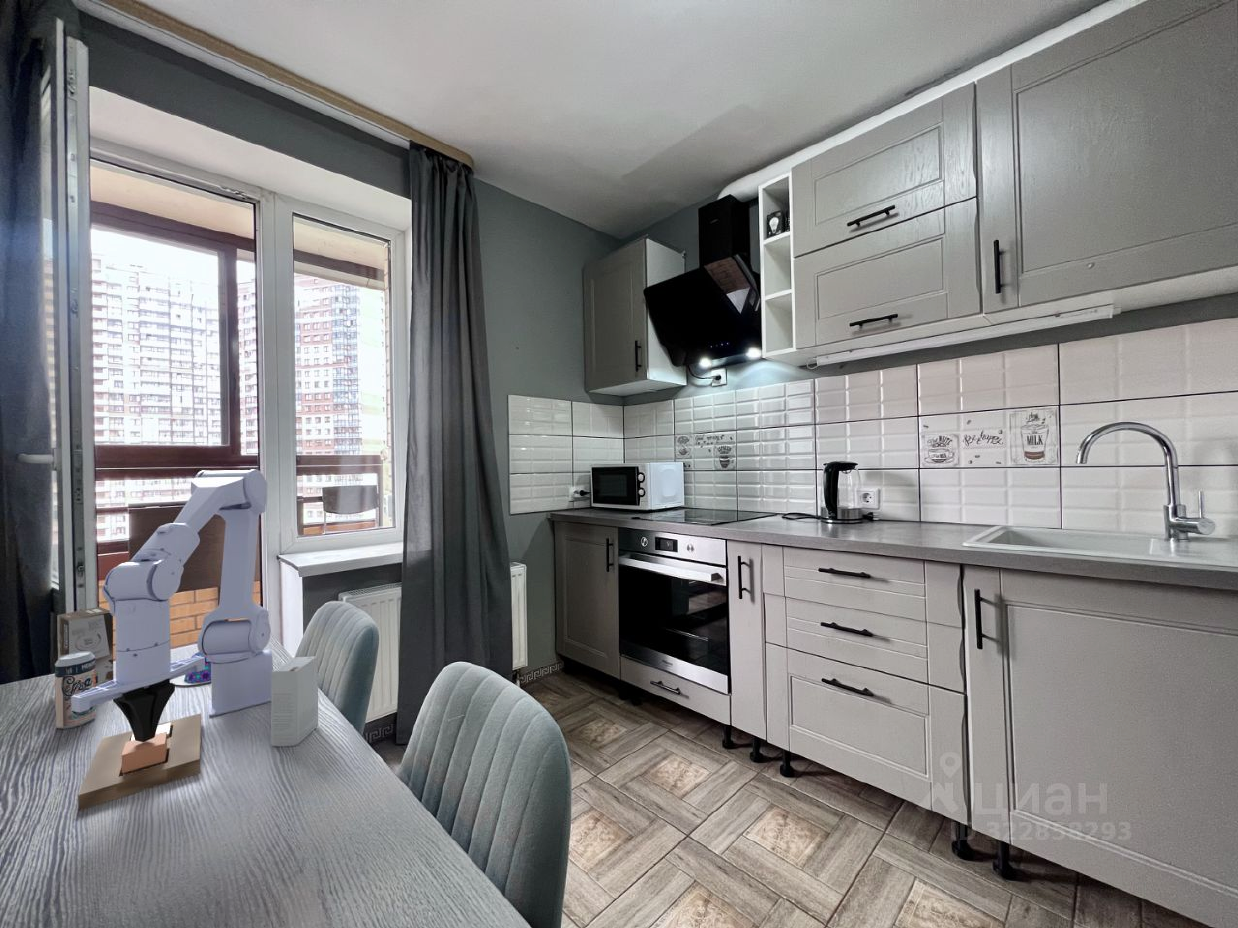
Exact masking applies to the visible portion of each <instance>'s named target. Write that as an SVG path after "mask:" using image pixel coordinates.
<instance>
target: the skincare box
mask: <svg viewBox="0 0 1238 928" xmlns="http://www.w3.org/2000/svg"><path fill="white" fill-rule="evenodd" d="M318 659H319V657H318V656H298V657H292V658H291V659H289V660H287V662H285V663H283V664H281V665H280V666H279V667H276V668H275V669H273V671H272V672H271V701H270V704H271V705H270V721H271V722H270V732H271V734H270V735H271V736H270V737H271V738H270V740H271V741H270V743H271V744H270V745H271V746H272V747H295V746H298V745H299V744H300V743H301V742H302V741H304V740H305V738H307V737H308V736H309V735H310V734H311V733H312V732H313V731H314V730H315V729H317V727H319V670H318V669H319V660H318Z"/></svg>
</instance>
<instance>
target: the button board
mask: <svg viewBox="0 0 1238 928" xmlns="http://www.w3.org/2000/svg"><path fill="white" fill-rule="evenodd" d="M167 723H171V737H170V738H167V752H166V758H165V761H163V762H159V763H156V764H153V765H149V766H146V767H142V768H139V769H135V770H132V771H129V772H125V773H122V752H123V749H124V746H125V743H126V742H128V741H131V738H132V735H133V731H132V730H130V731H126V732H123V733H118V734H115V735H111V736H107V737H103V738H100V741H99V744H98V747H97V749H96V751H95V753H94V756H93V758H92V761H91V763H90V766H89V768H88V770H87V773H86V775H85V778H84V780H83V783H82V785H81V787H80V789H79V792H78V795H77V807H78V808H77V810H78V812H80V811H83V810H85V809H88V808H89V809H90V808H92V807H95V806H97V805H101V804H104V803H107V802H111V801H114V800H117V799H121V798H124V797H126V796H130V795H133V794H137V793H140V792H143V791H146V790H149V789H152V788H156V787H159V786H161V785H165V784H168V783H171V782H174V781H177V780H181V779H184V778H187V777H190V776H193V775H197V774H200V772H201V748H202V747H201V744H202V713H201V712H200V713H197V714H193V715H189V716H188V715H187V716H185V717H181V718H177V719H173V720H170V721H164V722H162V723H158V726H159V725H163V724H167Z"/></svg>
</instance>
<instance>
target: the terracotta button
mask: <svg viewBox="0 0 1238 928" xmlns="http://www.w3.org/2000/svg"><path fill="white" fill-rule="evenodd" d="M166 752H167V731H166V732H162V733H158V734H155V737H154V738H152V739H150V740H148V741H145V742H140V741H136V740H132V741H128V742H126V743H125V746H124V749H123V752H122V773H125V772H129V771H132V770H135V769H139V768H142V767H146V766H149V765H153V764H156V763H159V762H163V761H165V758H166Z"/></svg>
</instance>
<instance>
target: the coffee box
mask: <svg viewBox="0 0 1238 928" xmlns="http://www.w3.org/2000/svg"><path fill="white" fill-rule="evenodd" d="M56 616H57V619H56V620H57V624H56V625H57V629H56V630H57V659H58V658H60V657H62V656H64V655H68V654H71V653H76V652H82V651H90V652H92V654H93V655H94V656H95V678H96V687H97V686H99V685H102V684H104V683H106V682H109V681H111V680H114V616H112V615H111V613H110V609H106V608H104V607H101V606H98V607H91V608H86V609H81V610H80V609H79V610H76V611H72V612H68V613H67V612H66V613H62V614H57V615H56Z"/></svg>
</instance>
